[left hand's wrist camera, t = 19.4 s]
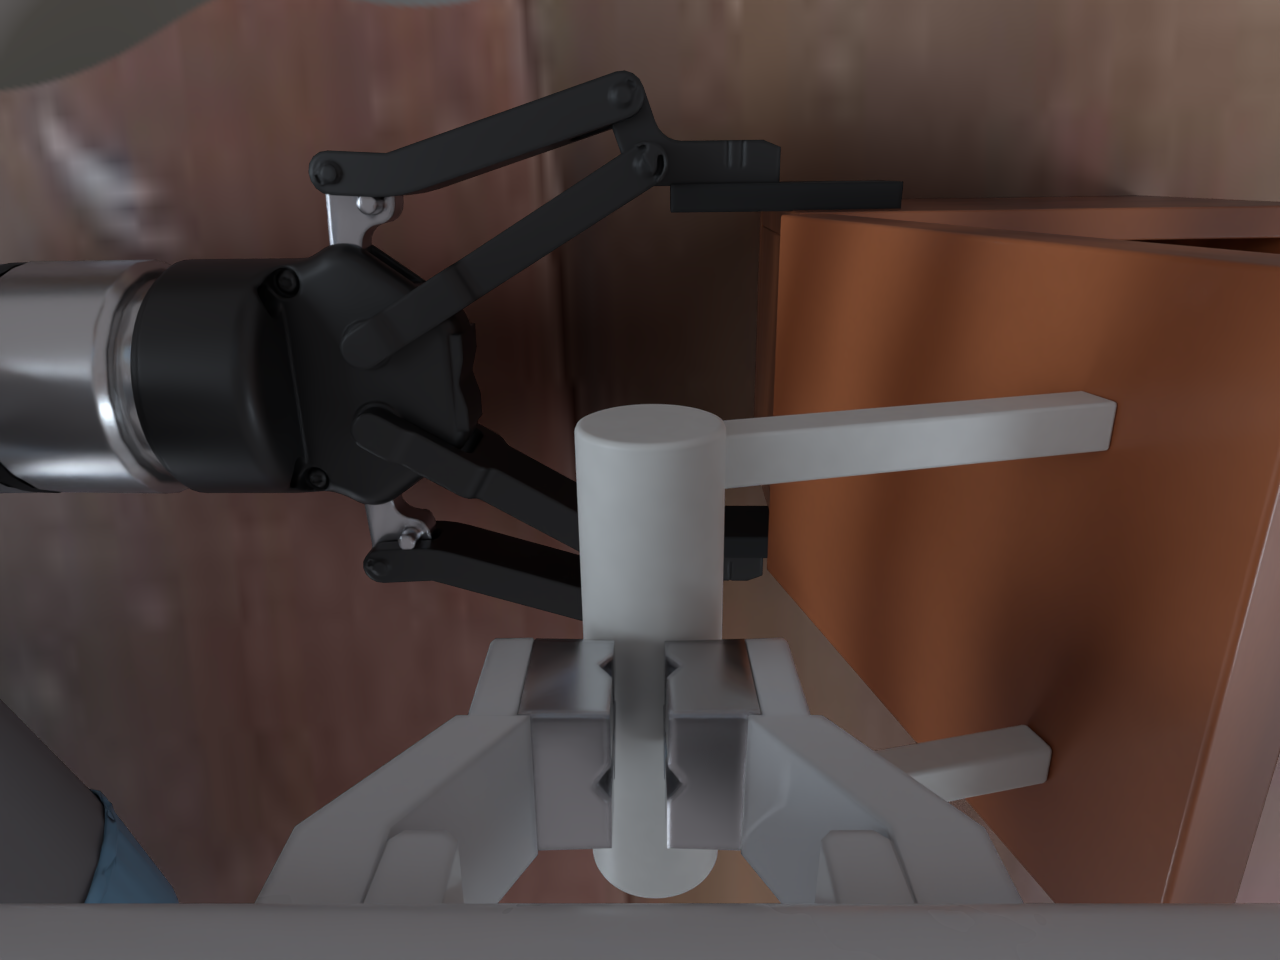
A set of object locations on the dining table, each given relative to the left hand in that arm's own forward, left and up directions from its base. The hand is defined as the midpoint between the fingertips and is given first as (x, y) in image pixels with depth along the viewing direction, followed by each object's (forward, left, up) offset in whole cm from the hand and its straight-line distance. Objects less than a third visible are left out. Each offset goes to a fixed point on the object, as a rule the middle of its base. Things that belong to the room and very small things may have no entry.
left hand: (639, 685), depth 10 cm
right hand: (-7, -3, -18) cm, 19 cm away
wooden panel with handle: (-6, -2, -7) cm, 10 cm away
